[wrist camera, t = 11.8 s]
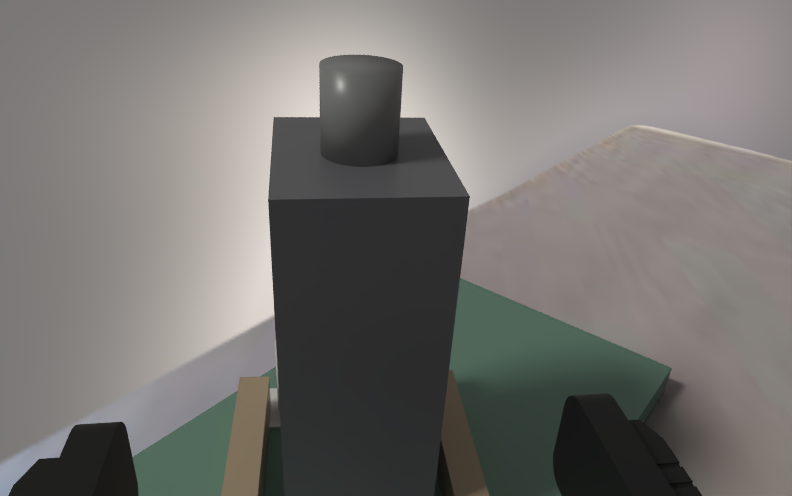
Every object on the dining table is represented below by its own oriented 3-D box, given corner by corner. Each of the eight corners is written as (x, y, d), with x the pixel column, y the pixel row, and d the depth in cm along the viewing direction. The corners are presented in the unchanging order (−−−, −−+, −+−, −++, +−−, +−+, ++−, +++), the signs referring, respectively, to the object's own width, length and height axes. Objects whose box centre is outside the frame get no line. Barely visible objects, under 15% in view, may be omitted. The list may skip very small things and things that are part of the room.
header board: (431, 286, 33) (438, 213, 31) (664, 390, 26) (691, 306, 24) (39, 548, 19) (4, 445, 17) (334, 904, 12) (334, 806, 10)
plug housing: (401, 417, 22) (430, 41, 16) (428, 543, 18) (481, 99, 12) (287, 425, 22) (269, 38, 15) (287, 556, 18) (262, 97, 11)
